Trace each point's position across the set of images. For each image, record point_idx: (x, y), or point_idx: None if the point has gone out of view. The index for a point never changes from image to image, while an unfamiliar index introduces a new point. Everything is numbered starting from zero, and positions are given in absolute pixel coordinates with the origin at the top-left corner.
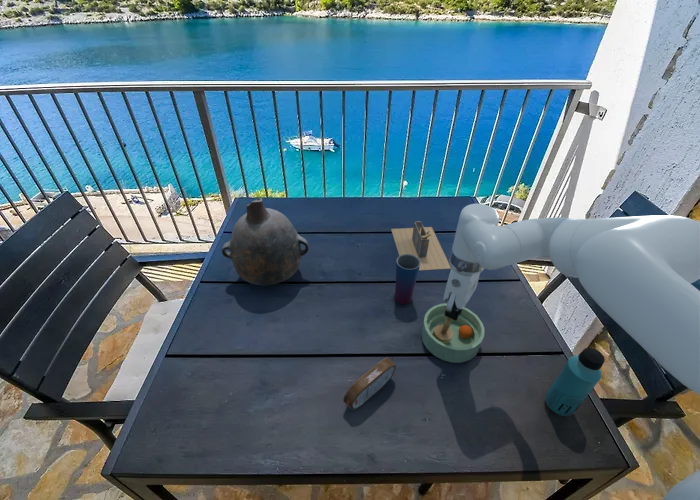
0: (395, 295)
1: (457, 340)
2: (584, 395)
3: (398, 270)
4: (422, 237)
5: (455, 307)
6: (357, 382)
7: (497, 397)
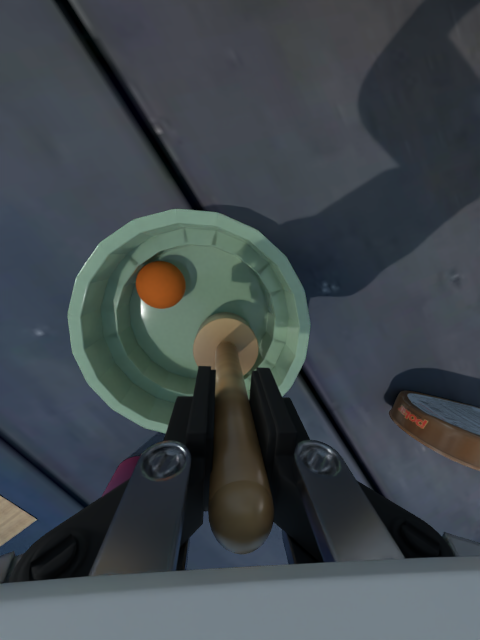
0: None
1: (197, 294)
2: None
3: None
4: None
5: (426, 546)
6: None
7: (326, 116)
